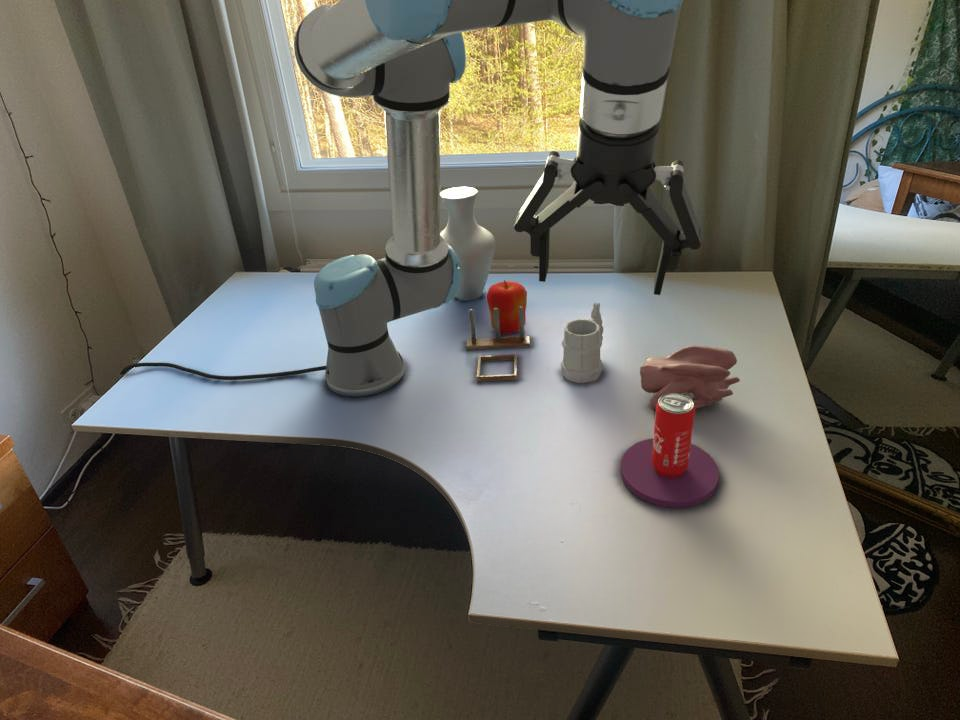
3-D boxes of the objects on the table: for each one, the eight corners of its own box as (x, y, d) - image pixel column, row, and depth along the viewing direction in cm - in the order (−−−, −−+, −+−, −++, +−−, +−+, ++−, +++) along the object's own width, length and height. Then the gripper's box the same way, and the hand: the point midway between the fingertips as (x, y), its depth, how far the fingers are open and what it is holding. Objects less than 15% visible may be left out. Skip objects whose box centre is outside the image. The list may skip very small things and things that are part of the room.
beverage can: (681, 484, 90) (689, 418, 83) (646, 473, 92) (651, 408, 86) (691, 462, 93) (700, 397, 87) (657, 452, 96) (663, 388, 89)
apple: (507, 344, 129) (504, 292, 123) (480, 331, 135) (476, 281, 128) (536, 328, 134) (534, 278, 127) (509, 316, 139) (506, 267, 133)
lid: (609, 493, 91) (609, 487, 90) (632, 435, 101) (633, 429, 101) (710, 519, 85) (711, 512, 85) (724, 455, 96) (725, 449, 95)
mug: (553, 377, 117) (552, 321, 111) (582, 348, 125) (582, 294, 119) (591, 388, 113) (592, 331, 107) (618, 357, 121) (620, 302, 115)
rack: (531, 379, 118) (529, 340, 113) (462, 382, 119) (458, 343, 114) (529, 339, 130) (528, 302, 126) (467, 342, 131) (463, 306, 127)
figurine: (652, 429, 108) (737, 418, 98) (628, 380, 106) (712, 363, 96) (676, 393, 117) (756, 379, 106) (654, 346, 114) (734, 328, 104)
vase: (426, 300, 149) (412, 197, 136) (462, 277, 159) (452, 179, 146) (475, 313, 142) (465, 206, 128) (510, 288, 151) (504, 186, 138)
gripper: (481, 131, 59) (492, 290, 75) (761, 151, 54) (707, 315, 71) (498, 89, 63) (504, 248, 80) (757, 105, 59) (707, 270, 75)
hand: (599, 280), depth 75 cm, fingers open, 13 cm apart
